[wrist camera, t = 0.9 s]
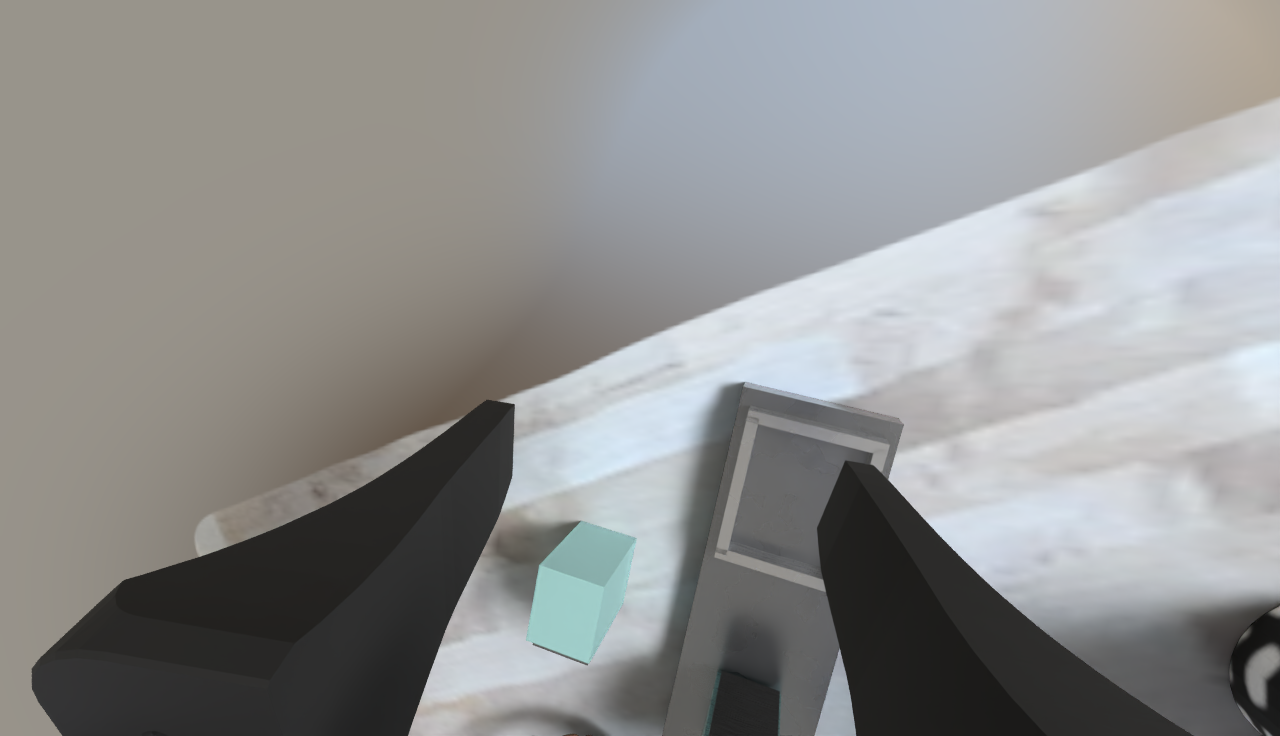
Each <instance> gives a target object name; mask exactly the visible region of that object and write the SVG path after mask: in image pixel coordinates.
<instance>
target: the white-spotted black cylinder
mask: <svg viewBox="0 0 1280 736" xmlns="http://www.w3.org/2000/svg"><path fill="white" fill-rule="evenodd" d="M1229 672H1230V686H1231V689H1232V692H1233V696H1234V699H1235V701H1236V703H1237V705H1238V707H1239V708H1240V710H1241V712H1242V713H1243V715H1244V717H1245V718H1246V719H1247V720H1248V721H1249V722H1250V723H1251V724H1252V725H1253V726H1254V728H1255V729H1256V730H1257V731H1258V732H1259V733H1260V734H1261V735H1263V736H1280V606H1279V607H1277V608H1275V609H1273V610H1271V611H1269V612H1268V613H1266V614H1265V615H1263V616H1262V617H1261V618H1260V619H1258V620H1257V621H1256V622H1254V623H1253V624H1252V625H1251V626H1250V627H1249V628H1248V630H1247V631H1246V632H1245V633H1244V634H1243V635H1242V637H1241V638H1240V640H1239V642H1238V644H1237V646H1236V647H1235V649H1234V651H1233V654H1232V659H1231V663H1230V668H1229Z"/></svg>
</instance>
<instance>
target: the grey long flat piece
mask: <svg viewBox="0 0 1280 736" xmlns="http://www.w3.org/2000/svg"><path fill="white" fill-rule="evenodd" d="M903 426H904V424H903V423H902V422H901V421H900V420H899V418H895V417H891V416H886V415H882V414H878V413H874V412H869V411H865V410H861V409H857V408H853V407H848V406H844V405H840V404H836V403H832V402H827V401H823V400H819V399H815V398H811V397H806V396H802V395H798V394H794V393H789V392H785V391H781V390H777V389H773V388H768V387H764V386H760V385H756V384H752V383H747V382H745V384H744V386H743V389H742V394H741V398H740V402H739V407H738V411H737V415H736V419H735V424H734V428H733V432H732V437H731V441H730V445H729V450H728V454H727V458H726V463H725V467H724V471H723V476H722V480H721V484H720V488H719V493H718V497H717V501H716V506H715V510H714V514H713V519H712V523H711V527H710V532H709V536H708V540H707V544H706V549H705V553H704V557H703V562H702V566H701V570H700V575H699V579H698V583H697V588H696V592H695V596H694V601H693V605H692V609H691V613H690V618H689V622H688V626H687V631H686V635H685V639H684V644H683V648H682V652H681V657H680V661H679V665H678V669H677V674H676V678H675V682H674V687H673V691H672V695H671V700H670V704H669V708H668V713H667V717H666V721H665V725H664V730H663V734H662V736H814V735H815V731H816V728H817V724H818V721H819V717H820V714H821V711H822V707H823V704H824V700H825V697H826V693H827V690H828V686H829V683H830V679H831V676H832V672H833V669H834V665H835V662H836V658H837V655H838V651H839V648H840V647H839V643H838V639H837V635H836V631H835V627H834V623H833V619H832V615H831V611H830V607H829V602H828V598H827V594H826V590H825V586H824V582H823V577H822V573H821V565H820V557H819V547H818V536H817V527H818V524H819V522H820V519H821V517H822V515H823V512H824V510H825V507H826V505H827V503H828V500H829V498H830V495H831V493H832V491H833V488H834V486H835V484H836V481H837V479H838V476H839V474H840V472H841V469H842V467H843V464H844V462H845V460H847V461H853V462H858V463H864V464H870V465H874V466H875V467H876V468H877V469H878V470H879V471H880V472H881V473H882V474H883V475H884V476H885V477H886V478H887V479H888V478H889V474H890V471H891V467H892V464H893V460H894V457H895V453H896V450H897V446H898V443H899V439H900V436H901V432H902V429H903Z"/></svg>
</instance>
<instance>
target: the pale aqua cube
mask: <svg viewBox="0 0 1280 736" xmlns="http://www.w3.org/2000/svg"><path fill="white" fill-rule="evenodd" d="M635 543H636V538H634V537H631V536H628V535H625V534H622V533H618V532H615V531H612V530H609V529H606V528H603V527H599V526H596V525H593V524H590V523H587V522H584V521H581V522H580V523H579V524H578V525H577V526H576V527H575V528H574V529H573V530H572V531H571V532H570V533H569V534H568V535H567V536H566V537H565V538H564V540H563V541H562V542H561V543H560V544H559V545H558V546H557V547H556V548H555V549H554V550H553V551H552V552H551V553H550V554H549V555H548V556H547V557H546V558H545V560H544V561H543V562H542V563H541V564H540V565H539V570H538V575H537V581H536V587H535V592H534V598H533V604H532V609H531V615H530V621H529V626H528V632H527V638H526V640H527V641H530V642H532V643H533V645H535V646H537V647H540V648H543V649H545V650H548V651H550V652H553V653H556V654H558V655H561V656H564V657H566V658H569V659H572V660H574V661H577V662H580V663H582V664H585V665H588V664H589V663H590V661H591V659H592V658H593V656H594V654H595V652H596V651H597V649H598V647H599V645H600V643H601V642H602V640H603V638H604V636H605V635H606V633H607V631H608V629H609V627H610V626H611V624H612V622H613V620H614V619H615V617H616V615H617V613H618V611H619V610H620V608H621V606H622V604H623V601H624V596H625V591H626V586H627V582H628V577H629V572H630V567H631V562H632V558H633V553H634V548H635Z"/></svg>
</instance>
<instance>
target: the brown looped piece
mask: <svg viewBox="0 0 1280 736" xmlns="http://www.w3.org/2000/svg"><path fill="white" fill-rule="evenodd" d="M563 736H578V735H577V734H568V735H563ZM586 736H592V735H586Z"/></svg>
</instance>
